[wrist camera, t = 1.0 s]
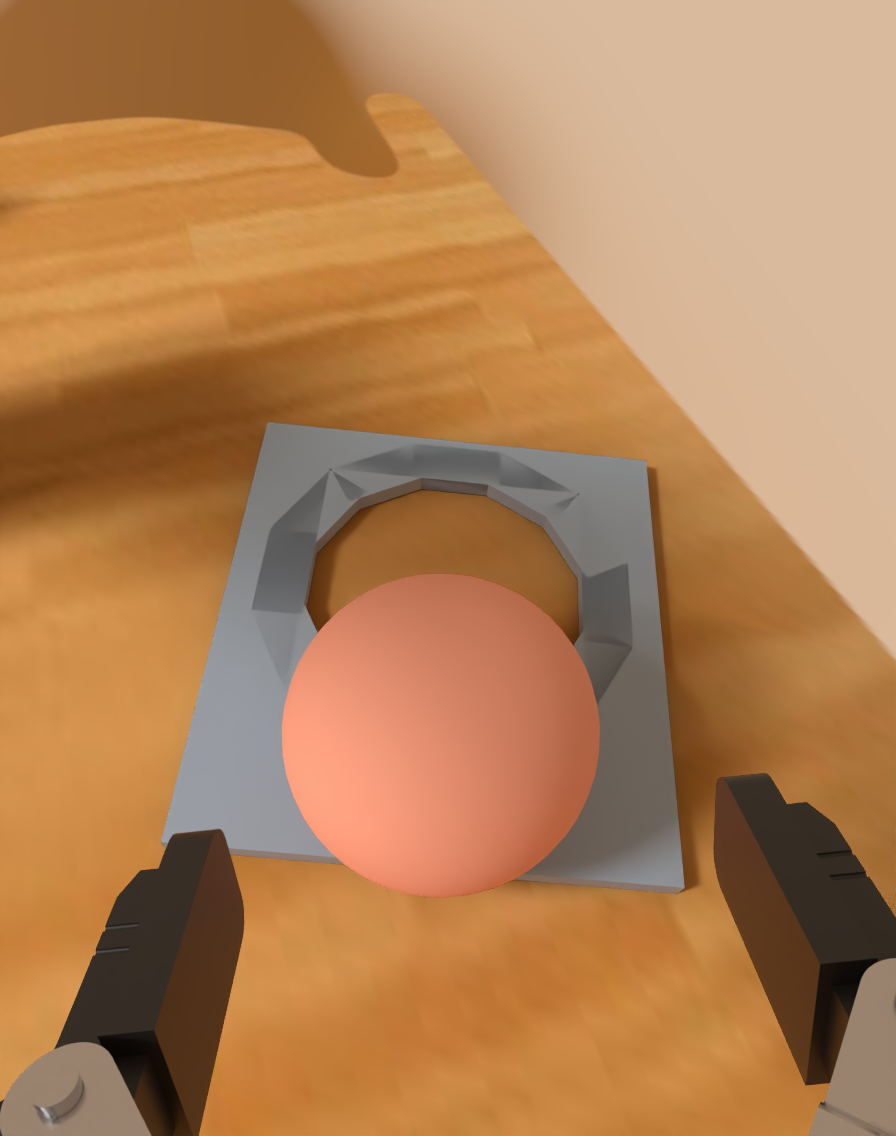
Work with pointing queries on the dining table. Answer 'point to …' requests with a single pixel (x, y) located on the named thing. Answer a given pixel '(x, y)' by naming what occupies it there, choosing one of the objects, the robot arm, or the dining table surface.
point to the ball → (440, 735)
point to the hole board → (284, 631)
